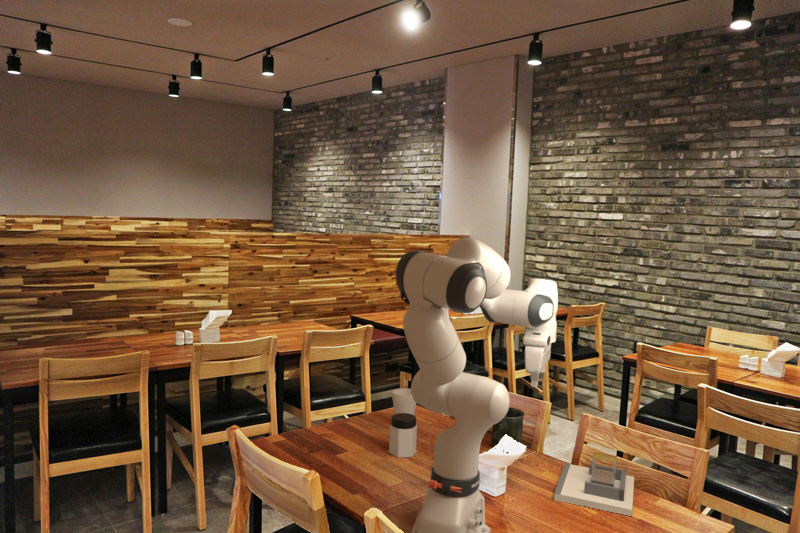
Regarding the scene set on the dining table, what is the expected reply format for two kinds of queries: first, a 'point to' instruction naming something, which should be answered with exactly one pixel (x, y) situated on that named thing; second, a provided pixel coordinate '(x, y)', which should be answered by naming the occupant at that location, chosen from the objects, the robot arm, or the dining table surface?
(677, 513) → the dining table surface
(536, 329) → the robot arm
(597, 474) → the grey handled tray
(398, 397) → the foam cup
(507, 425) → the mug
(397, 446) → the jar
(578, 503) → the dock
